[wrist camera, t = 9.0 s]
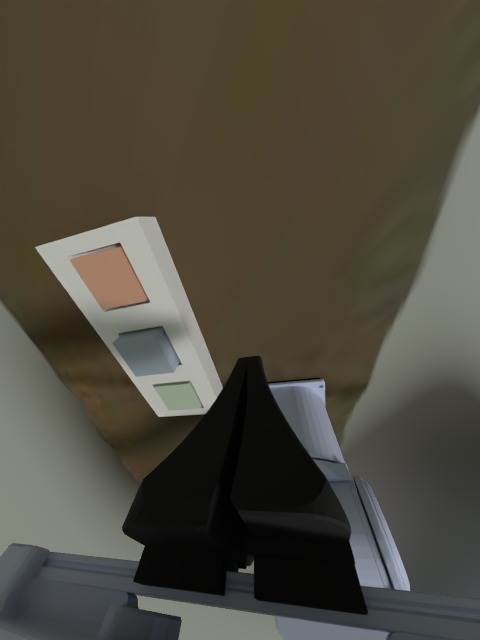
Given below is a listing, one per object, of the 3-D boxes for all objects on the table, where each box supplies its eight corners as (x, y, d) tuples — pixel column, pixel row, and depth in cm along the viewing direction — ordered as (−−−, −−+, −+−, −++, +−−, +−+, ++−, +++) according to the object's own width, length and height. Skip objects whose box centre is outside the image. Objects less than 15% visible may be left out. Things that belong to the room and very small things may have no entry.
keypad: (225, 395, 27) (222, 412, 24) (166, 400, 29) (158, 416, 26) (155, 217, 16) (136, 216, 13) (65, 243, 18) (34, 247, 15)
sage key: (204, 395, 26) (201, 408, 24) (175, 397, 27) (169, 410, 25) (193, 371, 24) (188, 383, 22) (161, 375, 24) (153, 387, 23)
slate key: (180, 359, 21) (174, 372, 19) (145, 364, 22) (135, 376, 20) (163, 325, 19) (154, 336, 17) (125, 332, 20) (112, 343, 18)
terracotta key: (155, 293, 18) (145, 301, 17) (116, 301, 19) (102, 309, 17) (132, 244, 16) (117, 247, 14) (89, 255, 17) (69, 260, 15)
